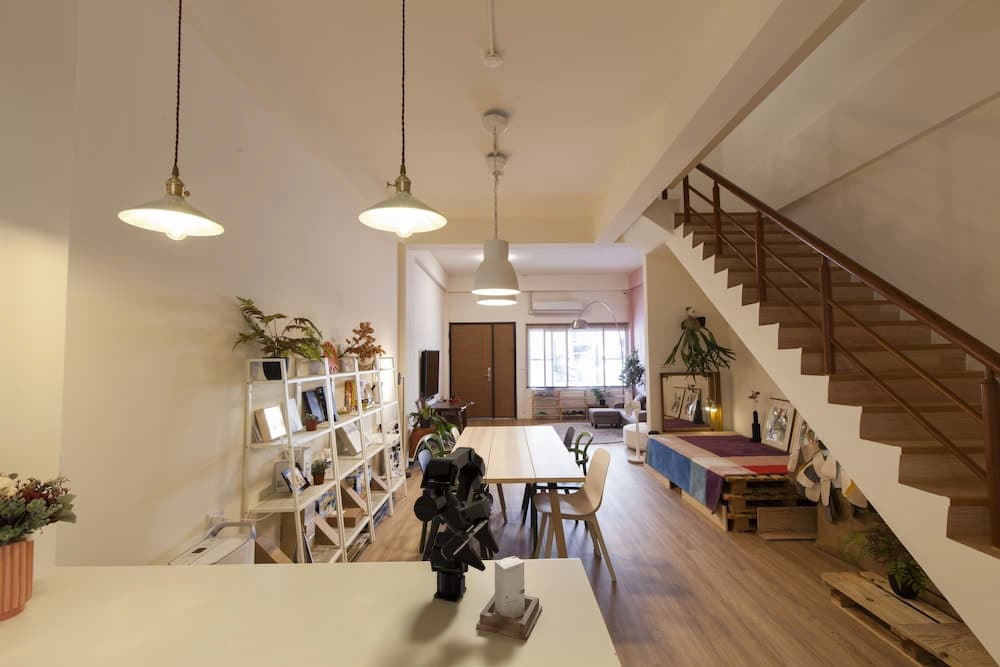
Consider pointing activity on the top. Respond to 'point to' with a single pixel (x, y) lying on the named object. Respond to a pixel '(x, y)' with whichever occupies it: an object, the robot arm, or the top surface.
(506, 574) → the skincare box
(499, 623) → the walnut holder
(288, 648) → the top surface
